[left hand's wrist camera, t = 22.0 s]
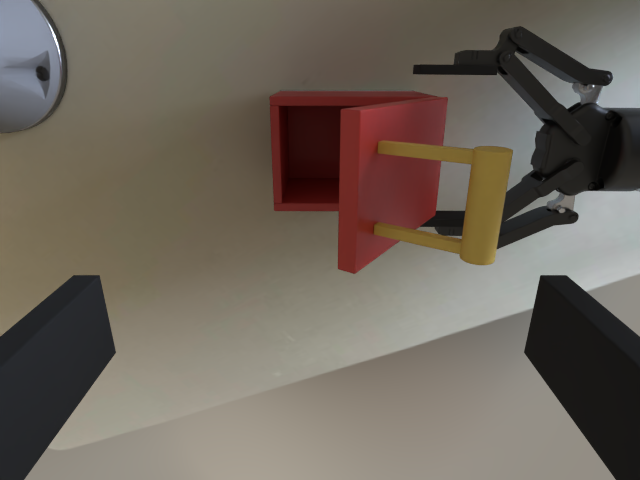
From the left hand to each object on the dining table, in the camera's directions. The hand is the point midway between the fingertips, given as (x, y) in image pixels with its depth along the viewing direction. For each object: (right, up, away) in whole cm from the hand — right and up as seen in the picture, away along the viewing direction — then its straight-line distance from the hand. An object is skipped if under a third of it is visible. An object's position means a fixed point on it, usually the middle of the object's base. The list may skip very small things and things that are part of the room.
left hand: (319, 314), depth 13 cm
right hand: (+8, +11, +27) cm, 30 cm away
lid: (+5, +7, +18) cm, 20 cm away
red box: (+3, +13, +33) cm, 36 cm away
